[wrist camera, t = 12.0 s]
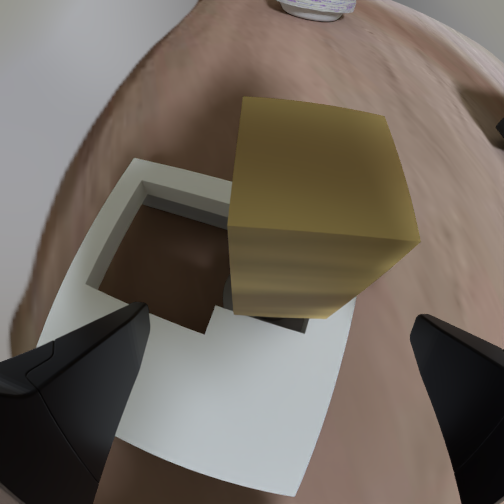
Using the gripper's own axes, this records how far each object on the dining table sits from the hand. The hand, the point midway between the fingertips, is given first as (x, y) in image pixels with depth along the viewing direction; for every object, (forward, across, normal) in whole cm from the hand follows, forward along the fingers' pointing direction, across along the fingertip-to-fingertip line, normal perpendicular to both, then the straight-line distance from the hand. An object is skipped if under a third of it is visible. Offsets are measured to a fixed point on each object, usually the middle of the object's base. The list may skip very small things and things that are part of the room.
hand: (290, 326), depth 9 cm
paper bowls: (+45, -7, -33) cm, 56 cm away
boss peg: (+8, 0, +4) cm, 9 cm away
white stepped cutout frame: (+7, +4, +5) cm, 10 cm away
